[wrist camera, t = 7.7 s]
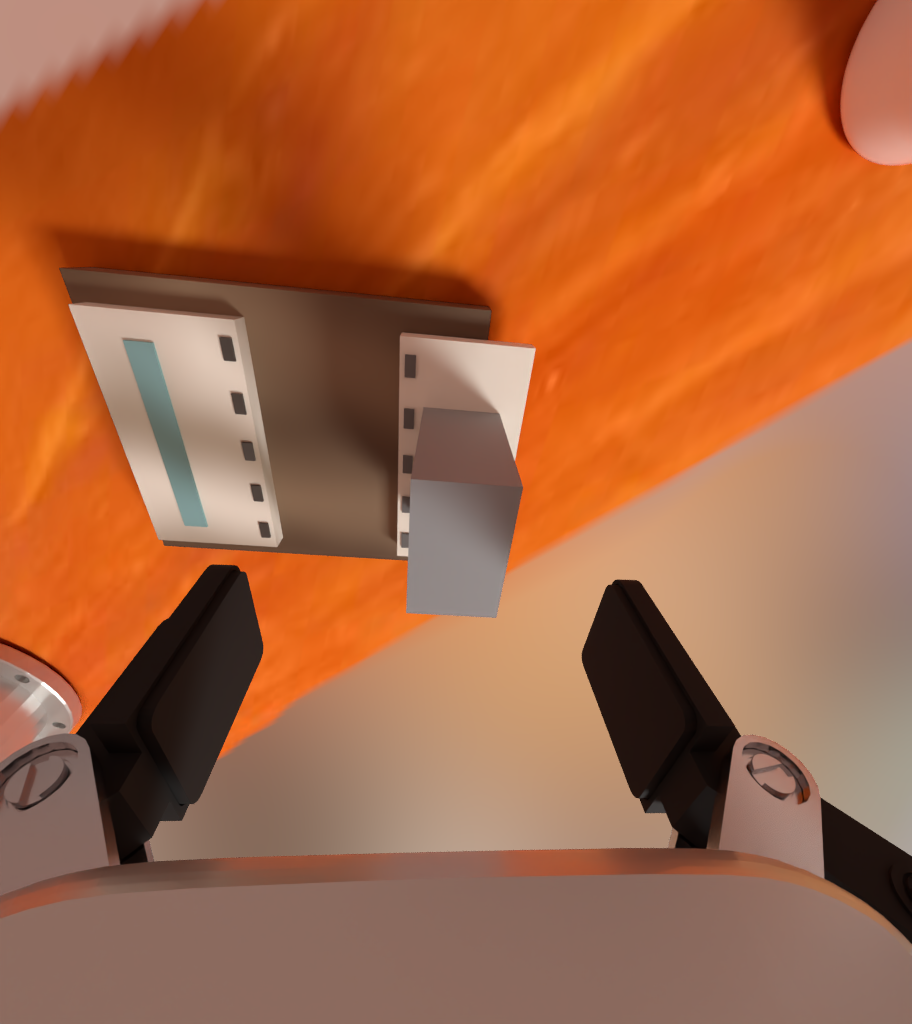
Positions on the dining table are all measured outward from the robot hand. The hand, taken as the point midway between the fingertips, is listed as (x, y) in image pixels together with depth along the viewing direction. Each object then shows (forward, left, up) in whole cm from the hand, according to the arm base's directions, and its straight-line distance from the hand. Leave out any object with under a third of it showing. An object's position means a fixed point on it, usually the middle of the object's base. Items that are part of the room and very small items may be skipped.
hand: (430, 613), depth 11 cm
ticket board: (+1, +6, -10) cm, 12 cm away
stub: (+1, -1, -9) cm, 9 cm away
